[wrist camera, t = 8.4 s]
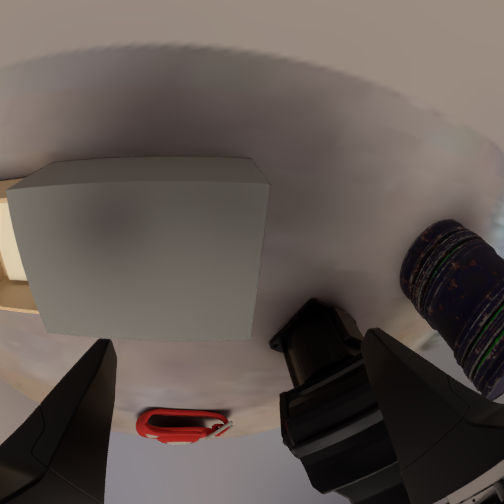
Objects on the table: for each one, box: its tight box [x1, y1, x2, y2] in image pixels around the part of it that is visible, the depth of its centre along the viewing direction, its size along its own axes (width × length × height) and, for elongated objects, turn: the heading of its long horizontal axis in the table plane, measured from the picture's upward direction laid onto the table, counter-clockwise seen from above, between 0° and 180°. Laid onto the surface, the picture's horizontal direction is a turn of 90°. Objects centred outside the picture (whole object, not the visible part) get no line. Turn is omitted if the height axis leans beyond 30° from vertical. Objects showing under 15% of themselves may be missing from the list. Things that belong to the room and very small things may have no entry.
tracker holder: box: [136, 409, 233, 445], centre depth 32 cm, size 12×4×10 cm
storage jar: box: [400, 219, 504, 401], centre depth 20 cm, size 10×10×15 cm
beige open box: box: [0, 178, 39, 314], centre depth 14 cm, size 14×10×10 cm
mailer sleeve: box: [6, 156, 270, 341], centre depth 17 cm, size 14×10×6 cm
